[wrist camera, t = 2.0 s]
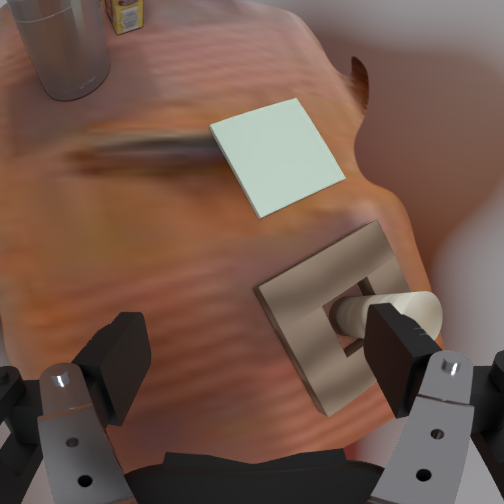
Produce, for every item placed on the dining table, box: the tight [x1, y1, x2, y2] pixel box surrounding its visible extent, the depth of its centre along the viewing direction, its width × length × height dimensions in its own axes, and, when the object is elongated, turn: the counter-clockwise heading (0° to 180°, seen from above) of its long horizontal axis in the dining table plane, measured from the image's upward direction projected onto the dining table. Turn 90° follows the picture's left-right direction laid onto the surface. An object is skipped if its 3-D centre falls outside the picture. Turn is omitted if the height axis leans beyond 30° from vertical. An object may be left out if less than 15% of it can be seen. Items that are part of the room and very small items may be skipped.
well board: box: [253, 220, 411, 418], centre depth 33 cm, size 16×16×2 cm
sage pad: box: [209, 98, 345, 219], centre depth 35 cm, size 12×12×1 cm
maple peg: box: [329, 291, 443, 340], centre depth 28 cm, size 4×4×13 cm
